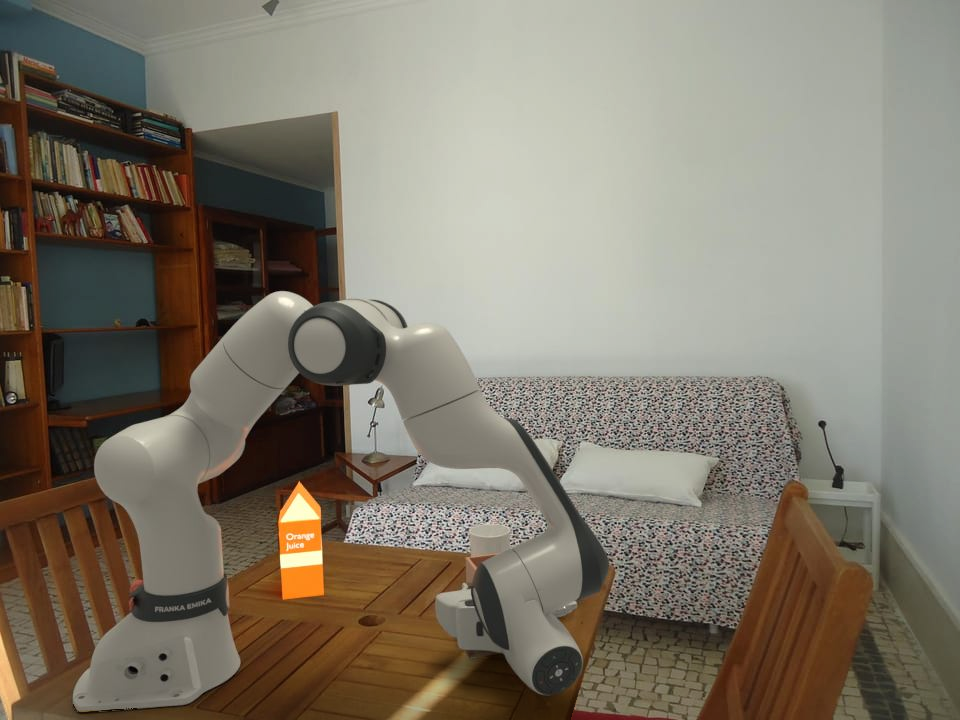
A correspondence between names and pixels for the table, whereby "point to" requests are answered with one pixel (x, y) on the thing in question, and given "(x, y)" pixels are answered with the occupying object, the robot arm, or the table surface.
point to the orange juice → (301, 546)
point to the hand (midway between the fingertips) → (487, 584)
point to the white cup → (489, 539)
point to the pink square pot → (474, 565)
